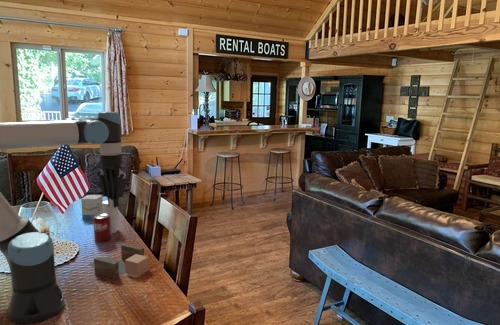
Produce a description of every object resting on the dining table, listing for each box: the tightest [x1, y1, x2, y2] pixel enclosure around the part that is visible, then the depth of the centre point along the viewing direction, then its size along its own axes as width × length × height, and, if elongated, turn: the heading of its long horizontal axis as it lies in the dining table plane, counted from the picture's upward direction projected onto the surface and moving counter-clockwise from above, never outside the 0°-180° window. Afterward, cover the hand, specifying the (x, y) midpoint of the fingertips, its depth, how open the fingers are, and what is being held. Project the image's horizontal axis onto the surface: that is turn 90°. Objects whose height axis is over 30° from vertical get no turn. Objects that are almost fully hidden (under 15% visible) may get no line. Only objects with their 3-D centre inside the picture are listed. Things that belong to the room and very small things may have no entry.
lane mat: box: [87, 256, 148, 278], centre depth 143 cm, size 8×24×1 cm, turn 66°
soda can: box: [92, 214, 113, 244], centre depth 167 cm, size 7×7×12 cm
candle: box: [102, 199, 119, 234], centre depth 179 cm, size 7×7×15 cm
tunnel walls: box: [93, 243, 145, 280], centre depth 142 cm, size 16×10×6 cm, turn 156°
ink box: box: [80, 194, 104, 220], centre depth 201 cm, size 8×8×12 cm
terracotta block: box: [124, 254, 150, 277], centre depth 139 cm, size 6×6×5 cm
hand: (113, 214), depth 139 cm, fingers closed
